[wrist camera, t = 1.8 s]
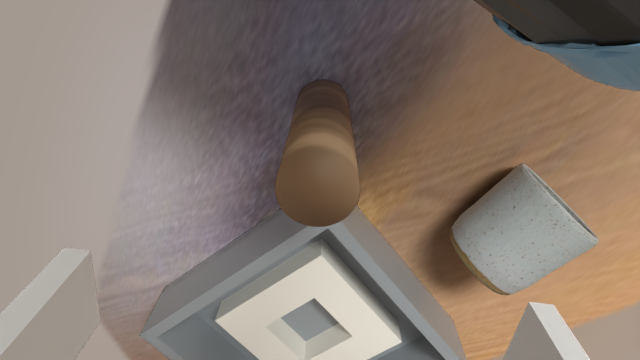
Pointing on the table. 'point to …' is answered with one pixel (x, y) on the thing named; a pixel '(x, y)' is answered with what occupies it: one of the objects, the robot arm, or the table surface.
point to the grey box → (302, 300)
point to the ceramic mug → (519, 233)
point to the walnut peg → (319, 158)
